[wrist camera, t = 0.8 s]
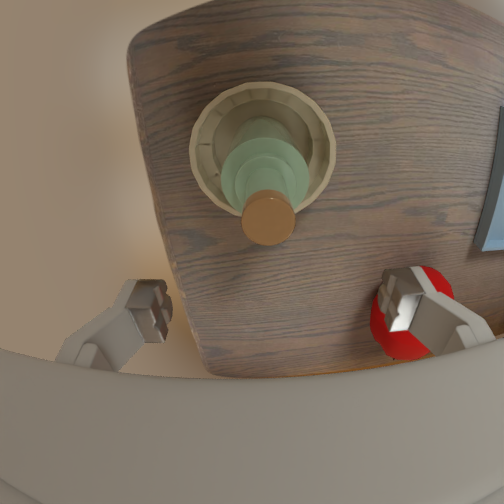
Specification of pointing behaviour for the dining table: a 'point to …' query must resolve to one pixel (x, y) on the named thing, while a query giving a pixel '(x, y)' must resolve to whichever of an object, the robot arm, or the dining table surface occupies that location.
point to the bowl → (251, 105)
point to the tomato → (404, 342)
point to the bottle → (265, 179)
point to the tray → (494, 201)
